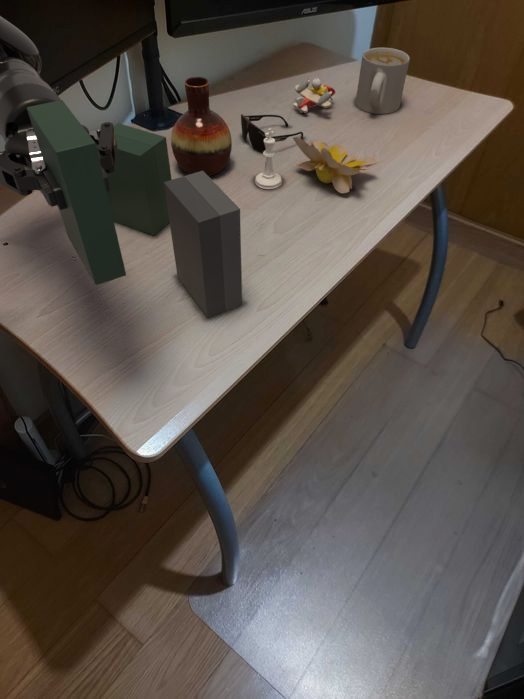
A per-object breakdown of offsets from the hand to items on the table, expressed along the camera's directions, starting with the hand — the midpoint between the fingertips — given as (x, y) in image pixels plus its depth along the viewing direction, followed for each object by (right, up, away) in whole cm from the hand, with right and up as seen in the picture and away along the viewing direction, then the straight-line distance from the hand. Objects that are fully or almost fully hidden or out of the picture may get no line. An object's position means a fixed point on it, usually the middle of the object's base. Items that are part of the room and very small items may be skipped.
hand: (82, 194), depth 47 cm
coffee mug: (+42, +40, +69) cm, 90 cm away
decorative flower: (+30, +17, +49) cm, 60 cm away
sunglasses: (+19, +29, +59) cm, 68 cm away
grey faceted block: (+9, -6, +29) cm, 30 cm away
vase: (+5, +21, +51) cm, 56 cm away
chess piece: (+18, +17, +48) cm, 54 cm away
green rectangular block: (-4, +8, +40) cm, 41 cm away
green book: (-1, -4, +7) cm, 8 cm away
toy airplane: (+28, +39, +68) cm, 83 cm away
